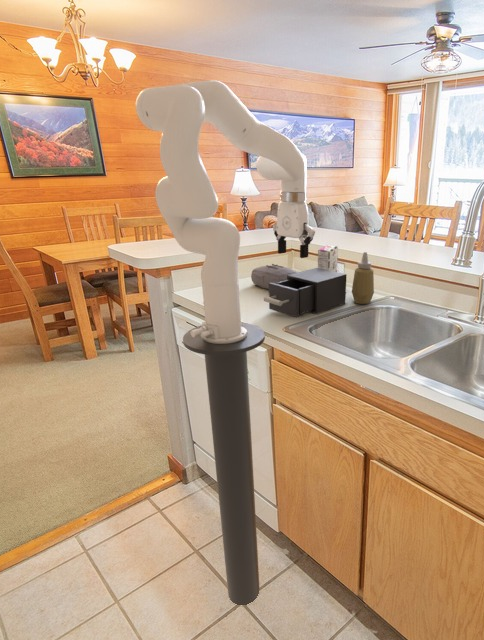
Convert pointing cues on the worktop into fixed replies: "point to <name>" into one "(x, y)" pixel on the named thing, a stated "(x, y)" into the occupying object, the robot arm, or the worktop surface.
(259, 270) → the soft grey pack
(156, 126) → the robot arm
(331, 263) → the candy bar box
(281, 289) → the grey drawer with handle
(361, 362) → the worktop surface
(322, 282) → the grey open box
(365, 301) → the squeeze bottle
